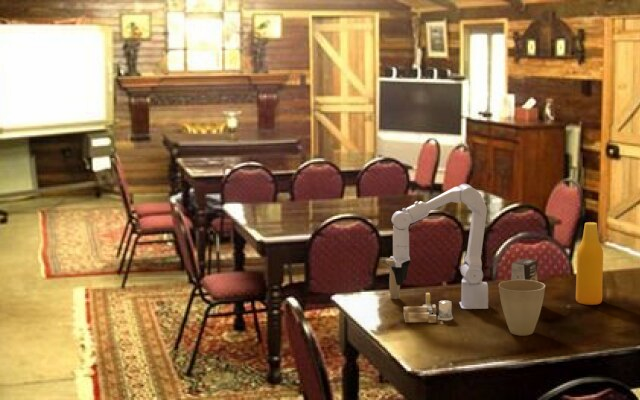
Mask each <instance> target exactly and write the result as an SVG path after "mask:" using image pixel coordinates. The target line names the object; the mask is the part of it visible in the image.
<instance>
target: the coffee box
mask: <svg viewBox="0 0 640 400" xmlns="http://www.w3.org/2000/svg"><path fill="white" fill-rule="evenodd" d="M510 273H511V278H510V280H532V281H538V260H537V259H536V260H535V259H531V258H530V259H529V258H527V259H526V258H521V259H518V260H515V261H513V262H511V272H510Z"/></svg>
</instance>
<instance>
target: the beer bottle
mask: <svg viewBox="0 0 640 400" xmlns="http://www.w3.org/2000/svg"><path fill="white" fill-rule="evenodd" d="M603 273H604V251H603V247H602V245H601V243H600V240H599V232H598V223H597V222H593V221H592V222H591V221H589V222H585V223H584V228H583V234H582V239H581V242H580V244H579V246H578V249H577V252H576V277H575V279H576V282H575V284H576V285H575V301H576V302H577V303H578V304H581V305H588V306H595V305H599V304H601V303H602V301H603V279H604V277H603Z"/></svg>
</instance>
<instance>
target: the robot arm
mask: <svg viewBox="0 0 640 400" xmlns="http://www.w3.org/2000/svg"><path fill="white" fill-rule="evenodd" d="M461 202H462V203H463V204H464V205H466V206H467V207H468V208H469V209H470V211H471V212H472V213H471V219H470V225H469V226H470V227H469V228H470V229H469V235H468V242H467V250H466V255H465V257H464V260H463V263H462V264H461V265H460V266H461V267H460V270H459V271H460V274H461V276H462V279H461V298H460V300H461V301H459V302H458V303H459V306H460V308H461V310H472V309H473V310H477V309H478V310H479V309H480V310H482V309H483V310H486V309H489V285H488V284H489V283H488V282H487V281H483V278H484V272H483V270H482V265H483V262H482V250H483V245H484V244H483V243H484V235H485V227H486V222H487V221H486V220H487V215H488V214H487V213H488V207H487V205H486V203H485V201H484V199H483V197H482V194H481V193H480V191H478V190H477V189H476V188H474V187H472V185H470V184H467V183H462V184H461V183H460V185H459V186H454V187H452V188H450V189H448V190H447V191H445V192H443V193H441V194H439V195H437V196H435V197H433V198H432V199H430V200H428V201H427V202H424V201H421V200H420V201H418V200H416V201H415V202H414V204H411V205H409V206H408V207H402V209H401V210H398V211H397V210H396V211H395V212H394V213H393V214H392V216H391V219H390V221H391V223H392V227H393V228H392V255H391V256H390V257H389V258H390V259H392V260H394V262H395V265H392V266H391V269H392V270H393V272H394V275H395V279H396V284H397V285H400V286H403V285H404V282H405V281H406V280H407V278H408V277H407V276H408V270H409V266H410V264H411V262H412V259H411V257H410V233H409V227H410V225H411V224H414V223H417V221H420V220H422V219H424V218H426V217H428V216H429V214H430V211H433V210H435V209H438V208H440V207H442V206H445V205H447V204H449V203H455V204H461Z"/></svg>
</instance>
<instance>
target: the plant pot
mask: <svg viewBox="0 0 640 400" xmlns="http://www.w3.org/2000/svg"><path fill="white" fill-rule="evenodd" d="M497 286H498V291H499V298H500V304H501V308H502V311H503V315H504V318H505V321H506V325H507V327H508V330H509V333H510V334H511V335H512V334H513V335H516V336H529V335H532V334H533V333H534V331H535V328H536V326H537V324H538V321H539V317H540V314H541V310H542V307H543V304H544V303H543V302H544V298H545V297H544V296H545V292H546V290H545V289H546V284H545V283H543V282H540V281H538V280H537V281H532V280H511V279H510V280H509V279H508V280H505V281H501V282H499V283H498V285H497Z"/></svg>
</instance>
